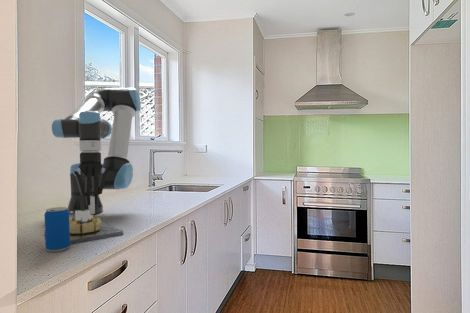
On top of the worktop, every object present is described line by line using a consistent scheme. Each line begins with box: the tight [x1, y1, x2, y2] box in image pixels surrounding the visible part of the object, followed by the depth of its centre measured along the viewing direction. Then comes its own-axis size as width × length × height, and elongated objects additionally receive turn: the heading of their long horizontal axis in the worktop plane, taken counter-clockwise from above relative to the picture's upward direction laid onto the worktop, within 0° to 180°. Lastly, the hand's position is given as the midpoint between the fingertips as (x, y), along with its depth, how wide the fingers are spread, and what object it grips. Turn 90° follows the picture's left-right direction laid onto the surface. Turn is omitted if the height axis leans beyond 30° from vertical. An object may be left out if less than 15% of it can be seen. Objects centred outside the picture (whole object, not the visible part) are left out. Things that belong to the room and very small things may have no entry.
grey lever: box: [69, 211, 102, 233], centre depth 125 cm, size 22×11×4 cm, turn 40°
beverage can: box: [44, 206, 71, 253], centre depth 103 cm, size 6×6×12 cm
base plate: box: [70, 209, 124, 245], centre depth 120 cm, size 20×20×8 cm
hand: (91, 213), depth 134 cm, fingers closed
